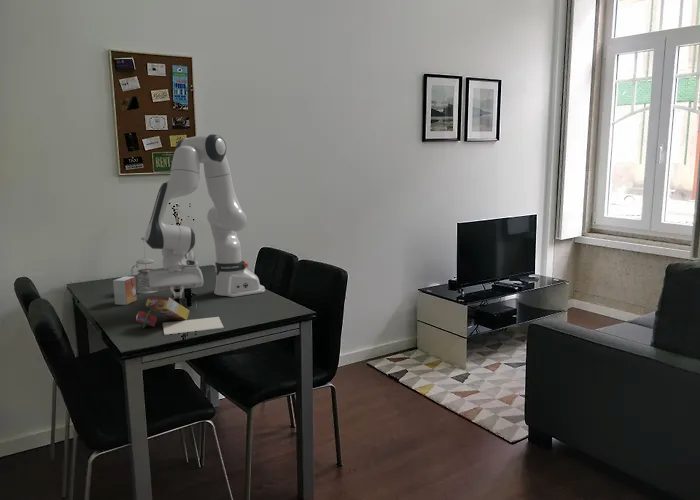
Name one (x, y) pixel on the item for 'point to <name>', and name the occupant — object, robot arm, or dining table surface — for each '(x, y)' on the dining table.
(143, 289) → the french press
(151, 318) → the geometric puzzle
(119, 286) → the small box
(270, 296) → the dining table surface
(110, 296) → the dining table surface
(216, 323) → the felt mat
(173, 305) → the candy box
